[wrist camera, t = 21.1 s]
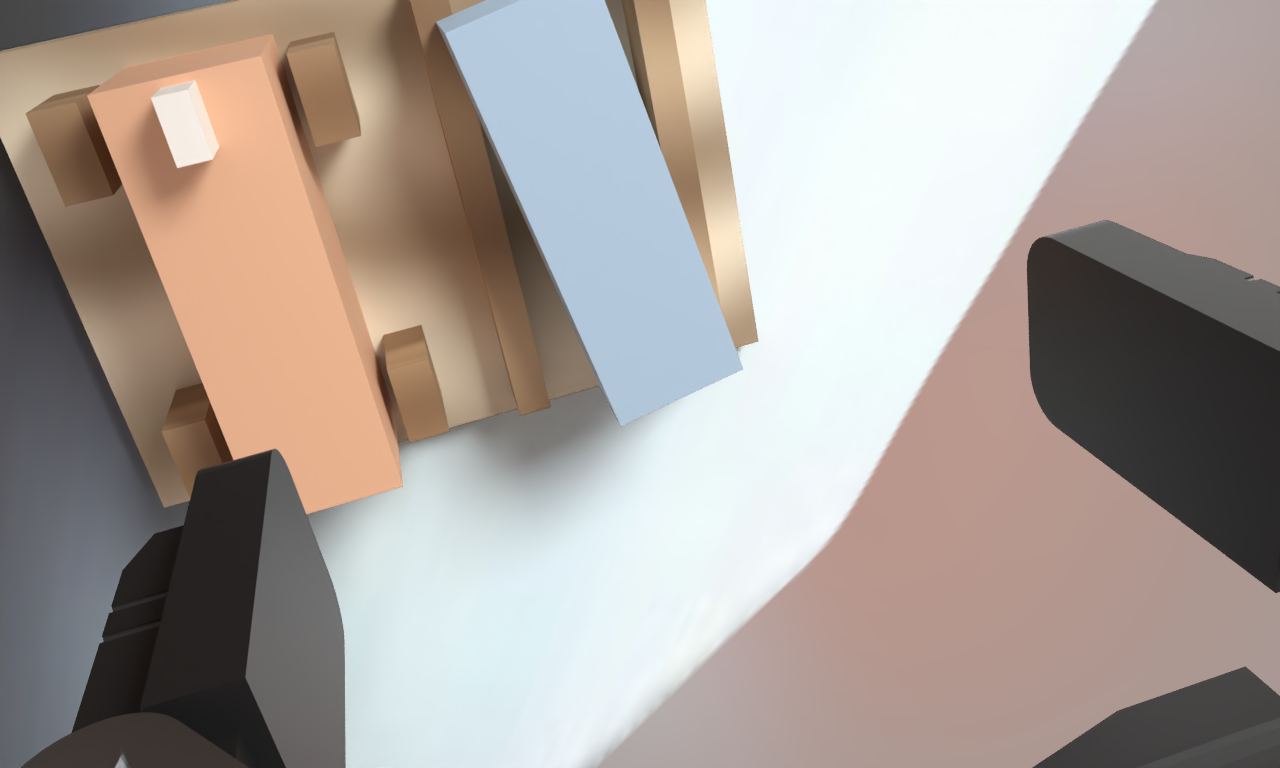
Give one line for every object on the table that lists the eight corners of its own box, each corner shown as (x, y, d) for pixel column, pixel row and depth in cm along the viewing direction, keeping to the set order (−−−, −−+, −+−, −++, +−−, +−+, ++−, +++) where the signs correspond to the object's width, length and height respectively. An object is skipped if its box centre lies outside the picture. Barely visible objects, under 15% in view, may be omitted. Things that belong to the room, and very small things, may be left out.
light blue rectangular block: (435, 22, 30) (444, 33, 27) (570, -38, 30) (592, -32, 28) (599, 387, 35) (620, 426, 33) (713, 334, 36) (743, 369, 33)
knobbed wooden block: (124, 67, 30) (73, 105, 24) (272, 34, 31) (256, 63, 25) (271, 448, 35) (256, 555, 29) (395, 414, 36) (405, 512, 30)
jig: (-23, 56, 30) (-72, 76, 26) (680, -98, 33) (722, -99, 29) (168, 493, 36) (149, 557, 32) (748, 331, 39) (789, 374, 35)
